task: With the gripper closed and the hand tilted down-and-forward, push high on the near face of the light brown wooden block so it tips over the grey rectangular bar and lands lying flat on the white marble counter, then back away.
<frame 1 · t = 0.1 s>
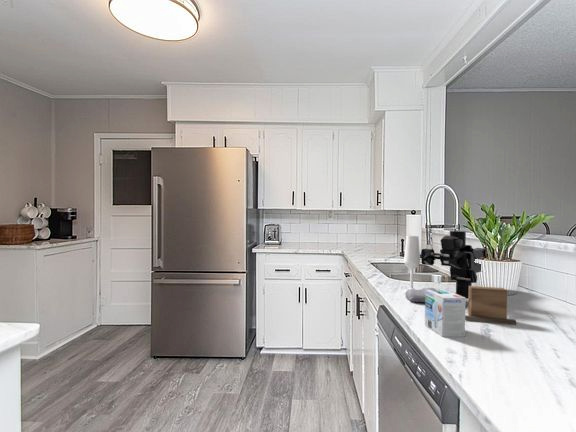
hand: (436, 260, 127), 17 cm above the worktop, tool horizontal, fingers open, 9 cm apart
slate coaster: (453, 304, 130), on the worktop
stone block: (423, 301, 134), on the worktop, touching slate coaster
grey rectangular bar: (489, 321, 109), on the worktop
light brown wooden block: (486, 319, 112), on the worktop
light bulb box: (443, 331, 100), on the worktop
champagne flute: (411, 292, 149), on the worktop
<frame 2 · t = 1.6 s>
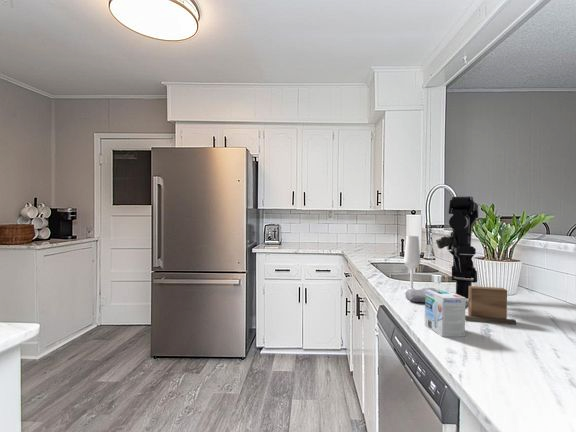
hand: (460, 271, 132), 12 cm above the worktop, tool pointing down, fingers open, 8 cm apart
nothing on the worktop moved.
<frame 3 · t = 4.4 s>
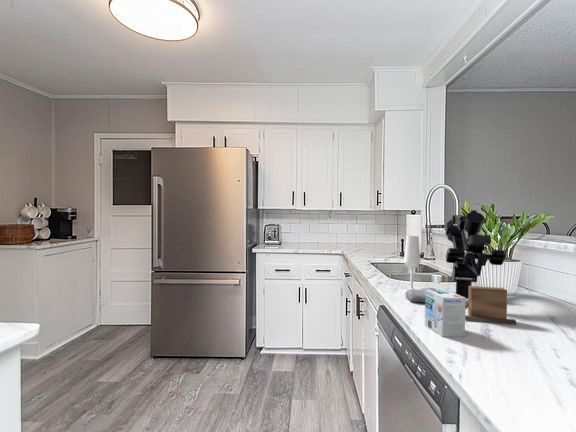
hand: (478, 275, 122), 12 cm above the worktop, tool tilted 45°, fingers closed
nothing on the worktop moved.
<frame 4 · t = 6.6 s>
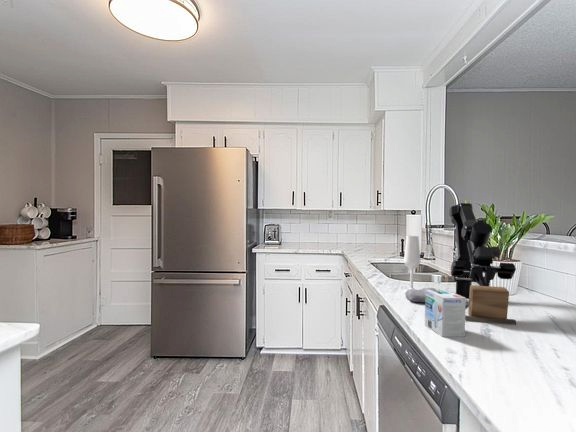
hand: (486, 290, 113), 9 cm above the worktop, tool tilted 45°, fingers closed
light brown wooden block: (486, 318, 112), on the worktop, tilted 10°
everything else where it was.
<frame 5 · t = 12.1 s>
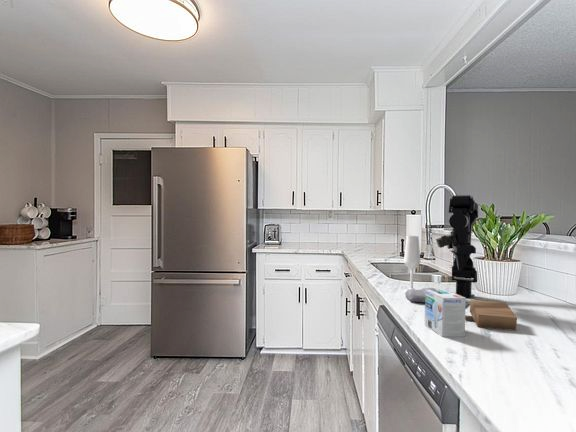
hand: (460, 270, 132), 12 cm above the worktop, tool pointing down, fingers closed
light brown wooden block: (487, 307, 112), point 4 cm above the worktop, tilted 101°, touching grey rectangular bar
everything else where it was.
at the end: light brown wooden block tilted 101°; light brown wooden block inside the target area (8.0 cm from its centre), point 3.9 cm above the worktop; the gripper is holding nothing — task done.
